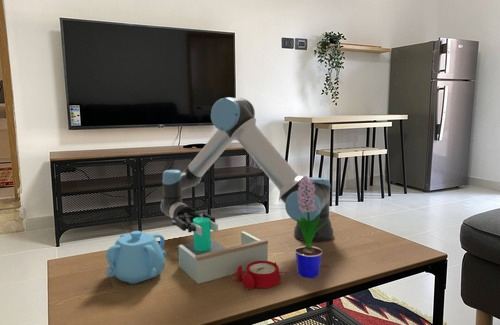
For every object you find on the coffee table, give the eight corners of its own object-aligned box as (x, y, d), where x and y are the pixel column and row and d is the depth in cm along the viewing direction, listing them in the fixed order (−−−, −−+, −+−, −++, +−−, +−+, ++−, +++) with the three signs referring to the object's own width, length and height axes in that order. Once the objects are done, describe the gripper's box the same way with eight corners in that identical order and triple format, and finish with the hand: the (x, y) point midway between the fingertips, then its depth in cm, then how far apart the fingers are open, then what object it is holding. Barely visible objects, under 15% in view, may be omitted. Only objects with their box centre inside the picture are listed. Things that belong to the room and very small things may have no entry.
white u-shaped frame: (244, 250, 133) (244, 228, 132) (267, 264, 121) (268, 240, 120) (179, 266, 120) (178, 242, 119) (198, 284, 108) (197, 257, 107)
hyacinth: (319, 284, 107) (321, 181, 103) (288, 274, 114) (289, 176, 109) (332, 273, 114) (335, 176, 110) (302, 264, 120) (304, 172, 116)
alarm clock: (291, 272, 107) (242, 269, 101) (286, 293, 108) (237, 292, 101) (274, 258, 117) (228, 255, 111) (270, 278, 117) (224, 276, 111)
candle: (190, 248, 133) (189, 215, 131) (203, 243, 137) (202, 211, 135) (201, 252, 129) (200, 218, 127) (214, 247, 133) (213, 214, 131)
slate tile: (211, 240, 142) (211, 238, 142) (230, 252, 131) (230, 250, 131) (176, 248, 135) (176, 246, 135) (192, 261, 123) (192, 259, 123)
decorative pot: (172, 265, 121) (171, 224, 119) (154, 289, 105) (152, 242, 103) (124, 263, 123) (122, 223, 121) (99, 286, 107) (96, 240, 105)
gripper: (203, 219, 152) (232, 235, 133) (159, 227, 142) (184, 246, 123) (203, 201, 151) (232, 215, 132) (159, 207, 141) (183, 224, 122)
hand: (209, 230), depth 127 cm, fingers open, 5 cm apart
